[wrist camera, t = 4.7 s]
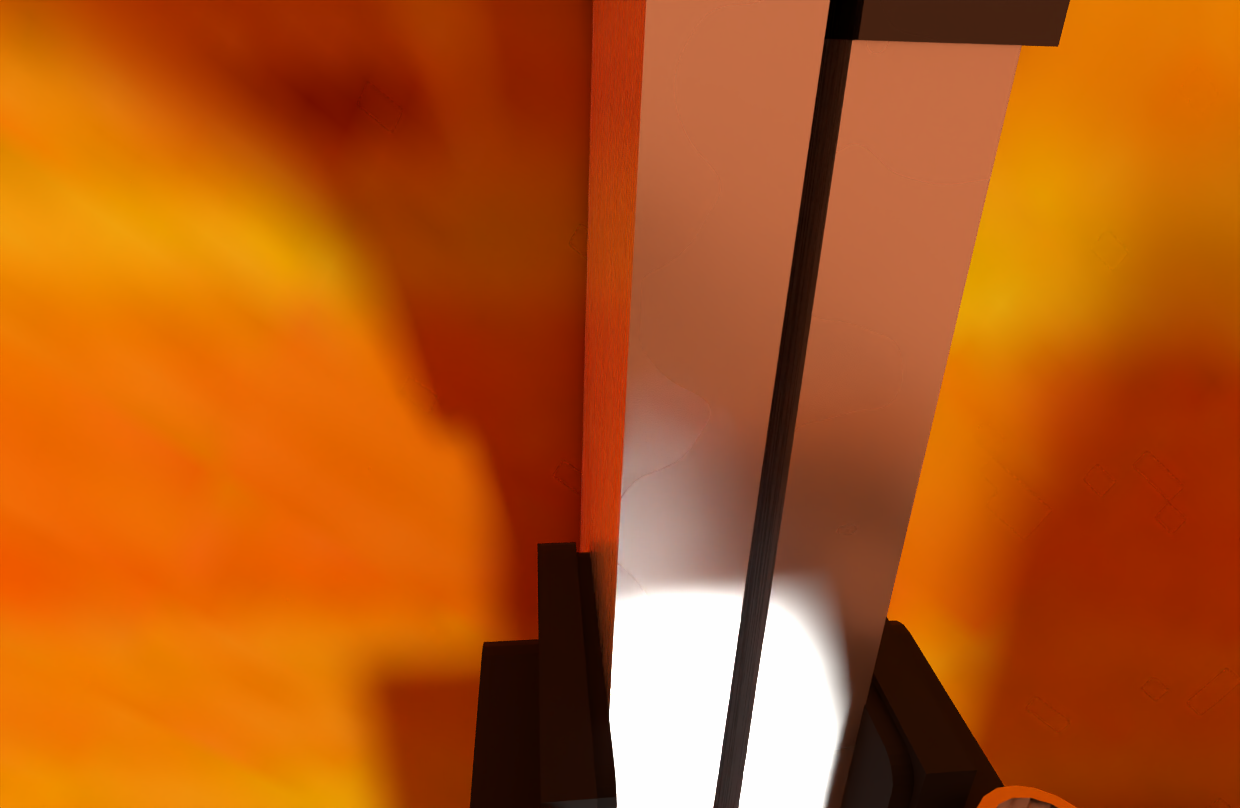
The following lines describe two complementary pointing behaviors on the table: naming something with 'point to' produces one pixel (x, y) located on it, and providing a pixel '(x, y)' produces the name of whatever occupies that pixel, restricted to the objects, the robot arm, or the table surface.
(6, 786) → the table surface
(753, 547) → the tong base
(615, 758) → the tong arm
